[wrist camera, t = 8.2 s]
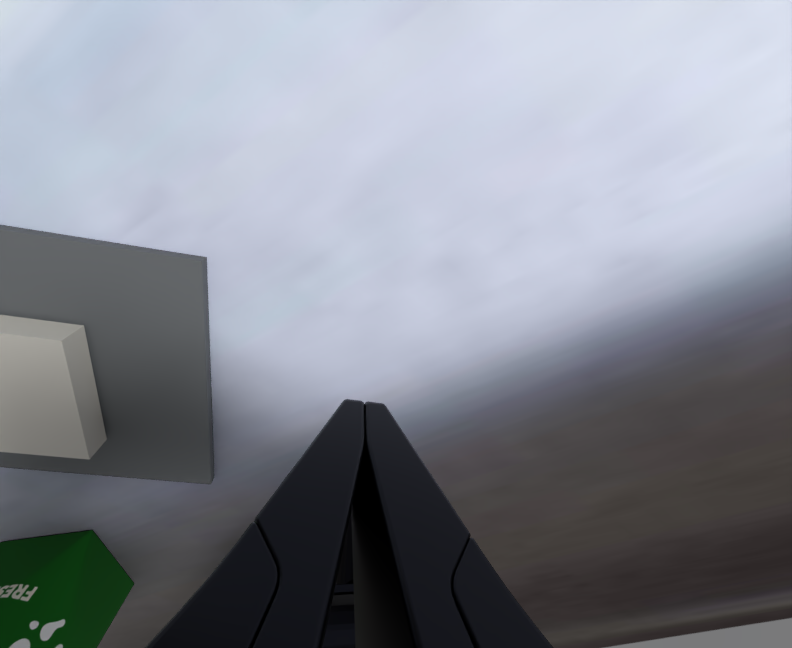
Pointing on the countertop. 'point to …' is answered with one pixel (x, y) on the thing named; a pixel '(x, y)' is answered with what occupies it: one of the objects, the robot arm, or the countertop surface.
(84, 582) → the milk carton
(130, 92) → the countertop surface
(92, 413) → the tile
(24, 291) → the mat
